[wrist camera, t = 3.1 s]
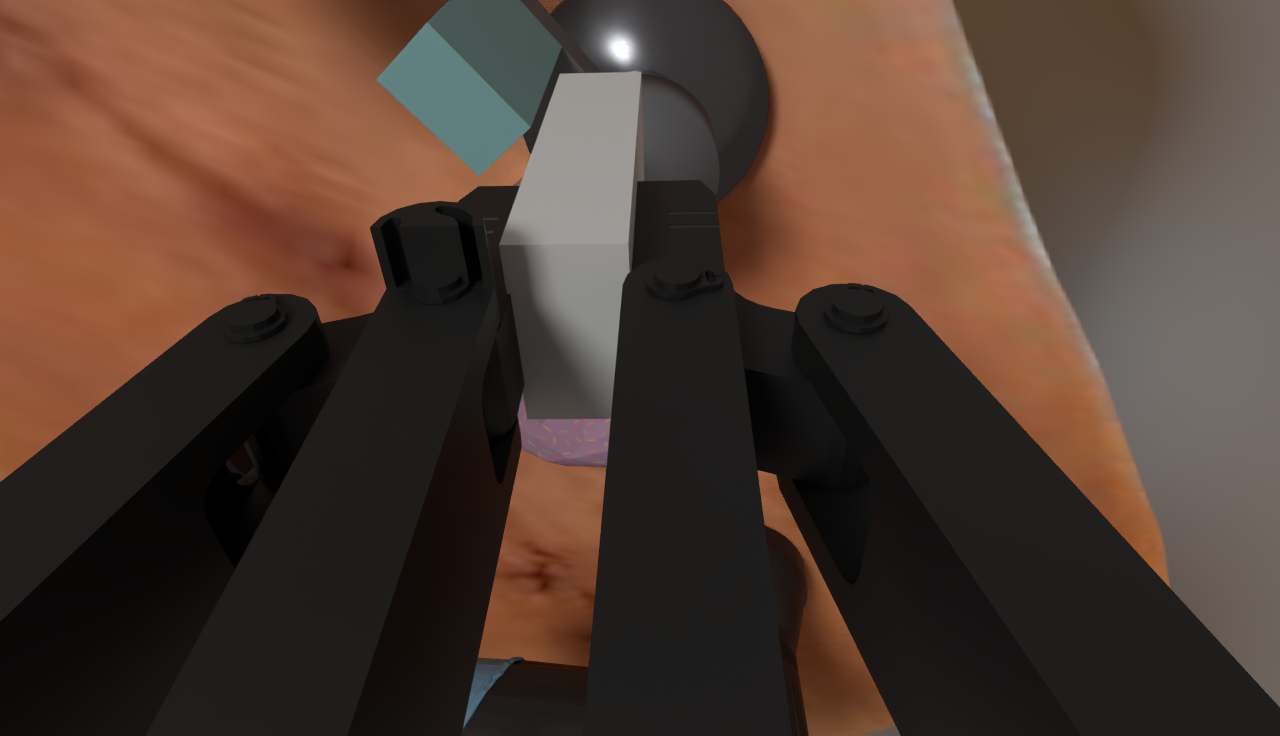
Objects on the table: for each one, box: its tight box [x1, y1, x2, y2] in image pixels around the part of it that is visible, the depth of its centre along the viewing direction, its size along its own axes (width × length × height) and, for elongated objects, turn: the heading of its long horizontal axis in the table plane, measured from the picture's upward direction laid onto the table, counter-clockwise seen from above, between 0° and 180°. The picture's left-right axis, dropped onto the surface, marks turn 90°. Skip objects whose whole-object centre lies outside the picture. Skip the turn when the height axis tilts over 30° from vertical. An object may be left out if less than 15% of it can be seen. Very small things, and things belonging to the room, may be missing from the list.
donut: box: [518, 393, 611, 467], centre depth 49 cm, size 16×15×5 cm
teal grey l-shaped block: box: [376, 0, 720, 197], centre depth 29 cm, size 14×7×12 cm, turn 42°
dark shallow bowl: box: [514, 0, 769, 203], centre depth 39 cm, size 13×16×6 cm
